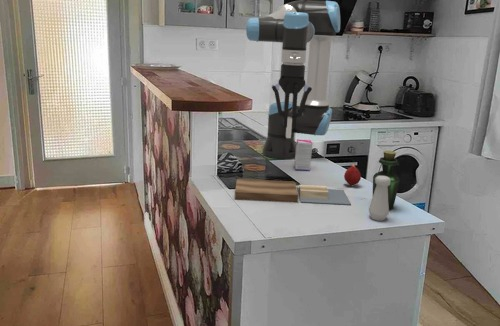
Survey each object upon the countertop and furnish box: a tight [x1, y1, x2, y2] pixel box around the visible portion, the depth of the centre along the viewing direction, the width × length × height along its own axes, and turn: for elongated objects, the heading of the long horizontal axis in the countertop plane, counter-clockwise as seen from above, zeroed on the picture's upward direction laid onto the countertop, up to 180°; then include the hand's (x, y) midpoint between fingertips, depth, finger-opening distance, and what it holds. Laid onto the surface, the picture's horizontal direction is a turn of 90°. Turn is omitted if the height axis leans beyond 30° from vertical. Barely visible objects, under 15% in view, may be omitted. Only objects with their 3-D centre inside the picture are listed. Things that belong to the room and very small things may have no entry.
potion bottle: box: [371, 150, 401, 211], centre depth 146 cm, size 8×8×18 cm
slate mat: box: [296, 187, 352, 206], centre depth 155 cm, size 14×16×1 cm
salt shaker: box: [368, 176, 390, 222], centre depth 137 cm, size 6×6×13 cm
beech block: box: [298, 184, 328, 199], centre depth 154 cm, size 6×9×2 cm, turn 89°
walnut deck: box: [234, 178, 299, 204], centre depth 155 cm, size 14×20×2 cm
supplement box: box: [293, 138, 313, 172], centre depth 184 cm, size 6×6×12 cm
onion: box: [343, 164, 362, 187], centre depth 166 cm, size 6×6×8 cm
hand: (288, 137), depth 153 cm, fingers closed
